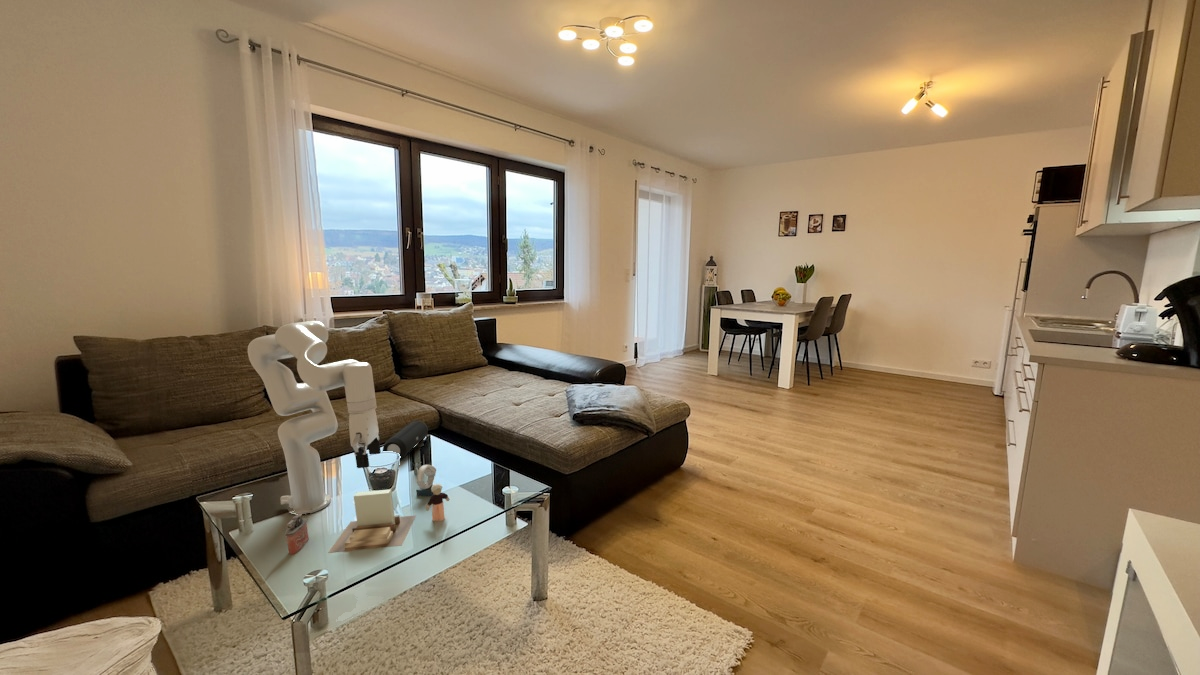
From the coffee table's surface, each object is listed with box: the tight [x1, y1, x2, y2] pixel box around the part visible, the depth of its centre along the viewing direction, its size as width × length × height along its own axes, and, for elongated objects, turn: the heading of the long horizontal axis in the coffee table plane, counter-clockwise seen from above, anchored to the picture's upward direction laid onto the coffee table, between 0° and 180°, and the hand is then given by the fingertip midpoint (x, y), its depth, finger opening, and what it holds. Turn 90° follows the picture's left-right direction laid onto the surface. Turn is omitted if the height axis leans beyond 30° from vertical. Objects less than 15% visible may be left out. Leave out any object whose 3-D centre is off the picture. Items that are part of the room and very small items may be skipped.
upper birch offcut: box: [350, 527, 391, 542], centre depth 136 cm, size 10×4×2 cm, turn 97°
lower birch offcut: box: [345, 531, 393, 548], centre depth 136 cm, size 12×4×2 cm, turn 97°
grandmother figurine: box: [425, 482, 450, 522], centre depth 146 cm, size 8×4×13 cm, turn 148°
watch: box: [416, 464, 437, 497], centre depth 163 cm, size 6×8×11 cm
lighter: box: [284, 514, 310, 555], centre depth 134 cm, size 8×3×10 cm, turn 5°
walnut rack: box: [328, 514, 417, 554], centre depth 140 cm, size 20×16×4 cm
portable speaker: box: [382, 420, 429, 459], centre depth 204 cm, size 26×10×10 cm, turn 177°
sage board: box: [353, 489, 395, 526], centre depth 141 cm, size 10×2×12 cm, turn 97°
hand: (369, 460), depth 138 cm, fingers open, 9 cm apart
